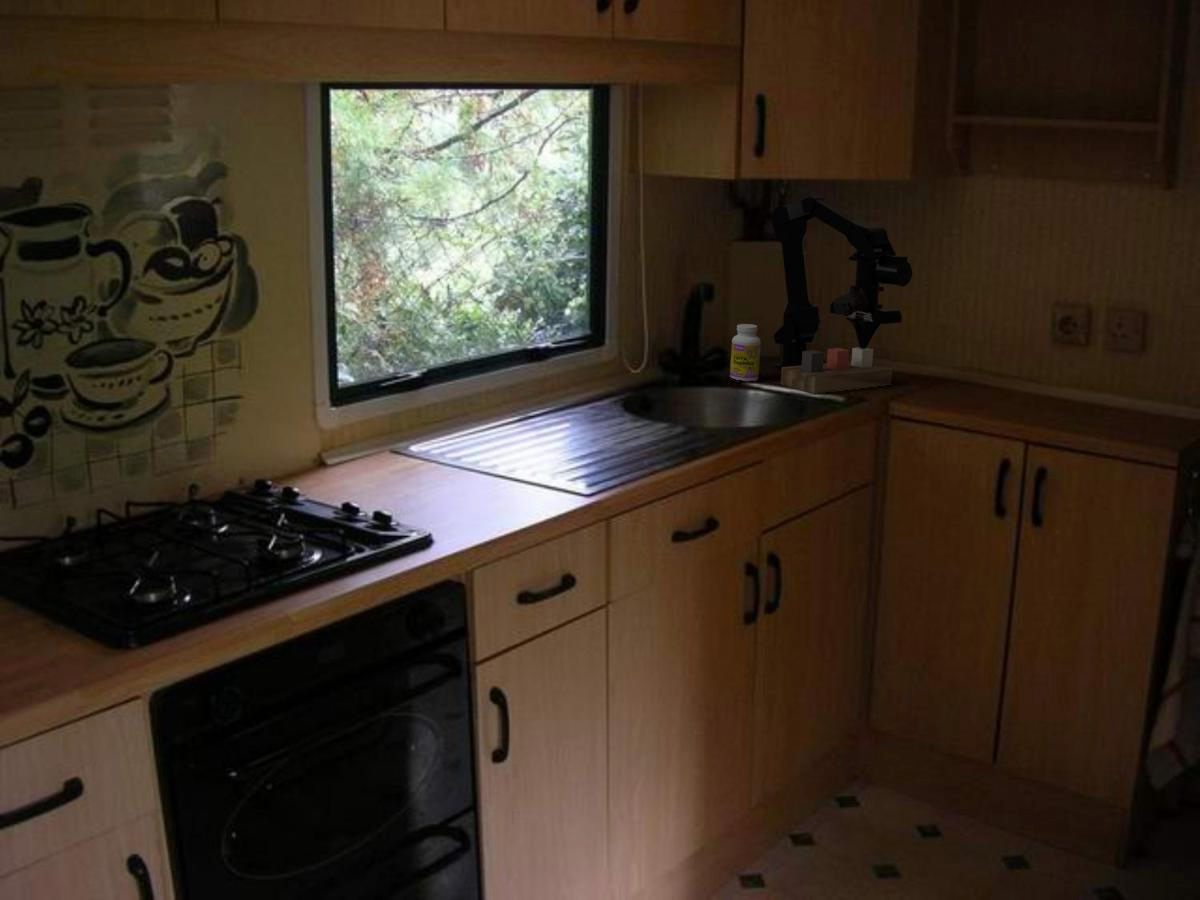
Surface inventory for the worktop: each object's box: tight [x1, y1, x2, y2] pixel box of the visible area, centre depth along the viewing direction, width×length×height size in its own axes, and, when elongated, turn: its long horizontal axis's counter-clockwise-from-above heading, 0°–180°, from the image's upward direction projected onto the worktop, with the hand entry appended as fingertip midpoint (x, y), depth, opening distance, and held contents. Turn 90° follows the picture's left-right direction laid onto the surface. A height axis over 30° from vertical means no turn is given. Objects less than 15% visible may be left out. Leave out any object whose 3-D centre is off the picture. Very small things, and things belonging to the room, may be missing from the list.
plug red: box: [826, 347, 850, 370], centre depth 315 cm, size 3×3×5 cm
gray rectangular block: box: [801, 349, 825, 373], centre depth 311 cm, size 3×3×5 cm
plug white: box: [851, 346, 874, 368], centre depth 319 cm, size 3×3×5 cm
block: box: [780, 359, 893, 395], centre depth 316 cm, size 12×23×4 cm, turn 121°
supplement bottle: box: [729, 323, 762, 382], centre depth 318 cm, size 7×7×13 cm
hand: (862, 348), depth 318 cm, fingers closed, pressing on plug white
